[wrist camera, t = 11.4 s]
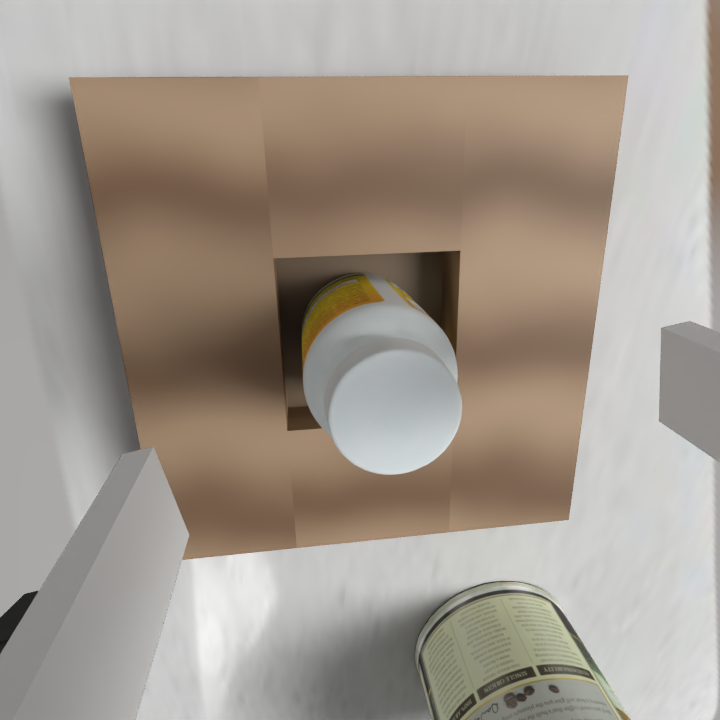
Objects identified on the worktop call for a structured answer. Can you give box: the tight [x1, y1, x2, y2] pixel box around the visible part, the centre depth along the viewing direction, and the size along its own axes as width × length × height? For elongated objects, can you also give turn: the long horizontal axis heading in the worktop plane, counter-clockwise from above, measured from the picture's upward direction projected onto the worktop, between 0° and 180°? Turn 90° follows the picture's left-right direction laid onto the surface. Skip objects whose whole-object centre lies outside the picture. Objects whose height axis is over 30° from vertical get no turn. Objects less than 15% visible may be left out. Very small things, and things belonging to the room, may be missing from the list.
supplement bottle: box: [301, 273, 462, 475], centre depth 19 cm, size 5×5×10 cm
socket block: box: [69, 76, 628, 560], centre depth 23 cm, size 20×20×4 cm
